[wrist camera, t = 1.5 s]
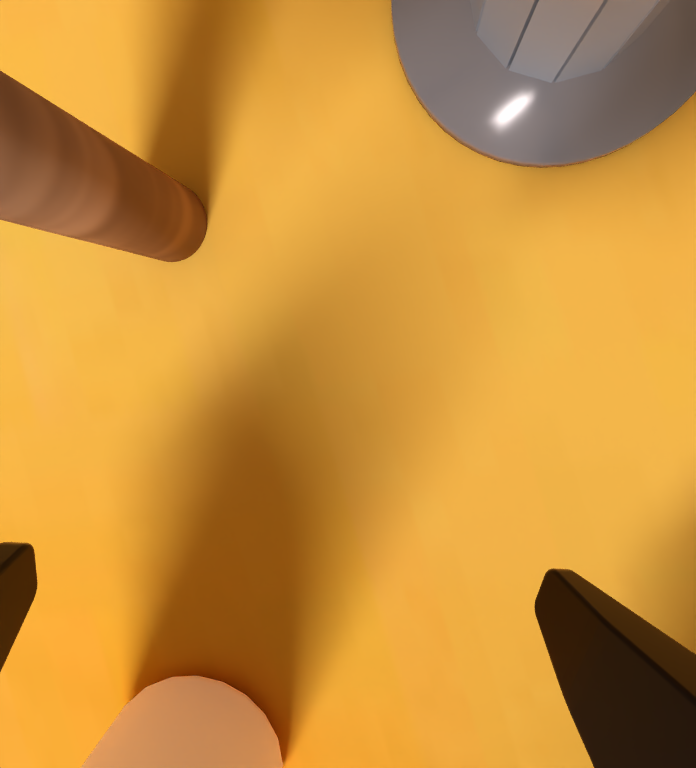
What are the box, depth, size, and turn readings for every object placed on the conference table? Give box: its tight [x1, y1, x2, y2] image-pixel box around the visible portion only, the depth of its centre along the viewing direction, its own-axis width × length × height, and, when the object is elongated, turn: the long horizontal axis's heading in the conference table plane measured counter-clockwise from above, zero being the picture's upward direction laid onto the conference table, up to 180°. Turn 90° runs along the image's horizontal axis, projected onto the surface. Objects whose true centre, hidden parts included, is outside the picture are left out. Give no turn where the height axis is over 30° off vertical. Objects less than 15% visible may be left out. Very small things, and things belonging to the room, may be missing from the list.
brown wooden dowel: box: [0, 71, 207, 262], centre depth 13 cm, size 3×3×12 cm
